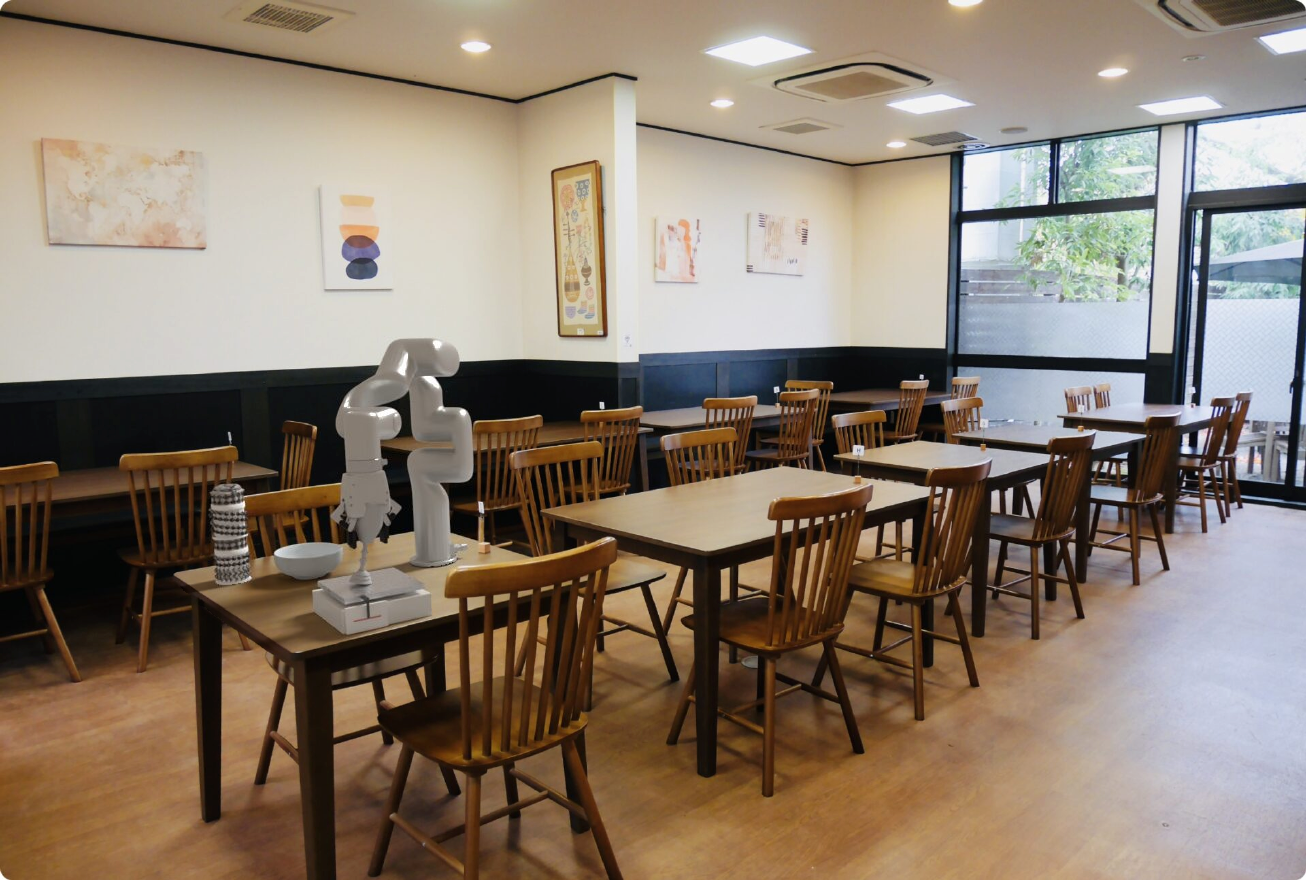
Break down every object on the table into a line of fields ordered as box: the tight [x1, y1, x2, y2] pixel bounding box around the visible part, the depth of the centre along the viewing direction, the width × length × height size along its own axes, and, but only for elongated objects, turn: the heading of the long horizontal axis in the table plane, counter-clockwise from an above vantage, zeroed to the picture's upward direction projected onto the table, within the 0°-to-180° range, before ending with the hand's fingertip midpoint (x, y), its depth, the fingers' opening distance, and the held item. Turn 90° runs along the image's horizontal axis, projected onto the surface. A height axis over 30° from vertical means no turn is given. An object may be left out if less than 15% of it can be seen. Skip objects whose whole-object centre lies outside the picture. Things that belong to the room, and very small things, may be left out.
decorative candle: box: [207, 483, 252, 586], centre depth 237 cm, size 9×9×25 cm
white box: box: [317, 567, 425, 618], centre depth 208 cm, size 18×21×6 cm
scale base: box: [311, 588, 433, 635], centre depth 209 cm, size 20×21×6 cm
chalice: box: [349, 504, 387, 584], centre depth 208 cm, size 7×7×18 cm
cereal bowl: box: [273, 542, 344, 581], centre depth 242 cm, size 17×17×7 cm
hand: (368, 544), depth 208 cm, fingers open, 6 cm apart
